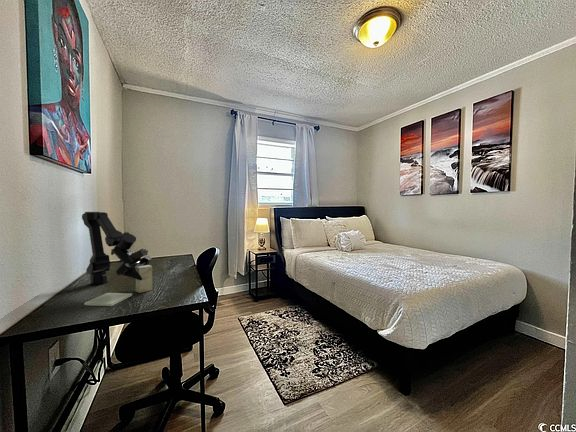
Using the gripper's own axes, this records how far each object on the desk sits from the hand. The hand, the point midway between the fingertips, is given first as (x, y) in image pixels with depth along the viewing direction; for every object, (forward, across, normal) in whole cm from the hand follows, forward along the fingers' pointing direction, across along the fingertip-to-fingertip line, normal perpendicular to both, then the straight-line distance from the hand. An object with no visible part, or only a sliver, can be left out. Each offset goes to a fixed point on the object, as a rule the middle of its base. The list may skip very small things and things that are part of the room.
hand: (146, 277), depth 118 cm
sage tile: (-1, -13, +11) cm, 17 cm away
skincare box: (+4, 0, +6) cm, 7 cm away
